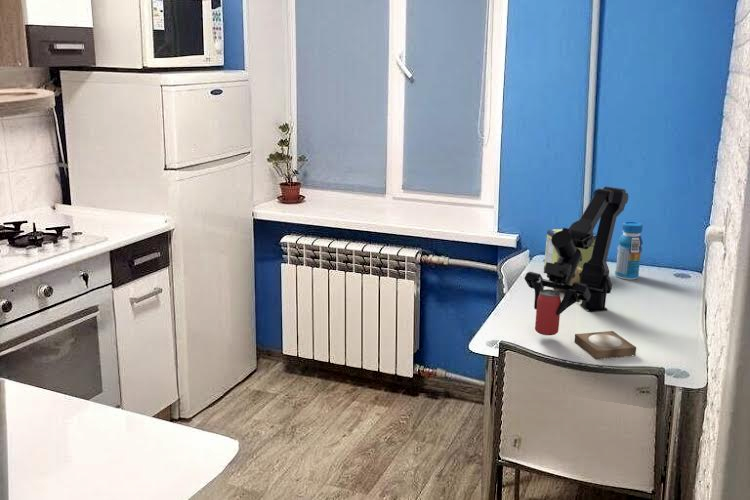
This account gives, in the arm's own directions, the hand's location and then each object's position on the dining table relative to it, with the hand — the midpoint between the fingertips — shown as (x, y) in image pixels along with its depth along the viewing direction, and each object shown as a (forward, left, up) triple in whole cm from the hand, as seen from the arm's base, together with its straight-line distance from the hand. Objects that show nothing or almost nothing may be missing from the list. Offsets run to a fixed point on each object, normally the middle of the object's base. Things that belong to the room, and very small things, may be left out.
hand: (546, 311), depth 217 cm
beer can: (-1, -1, -7) cm, 7 cm away
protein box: (-38, -56, -9) cm, 68 cm away
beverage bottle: (-57, -48, -9) cm, 75 cm away
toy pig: (-27, -38, -9) cm, 47 cm away
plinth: (-14, +9, -9) cm, 19 cm away
